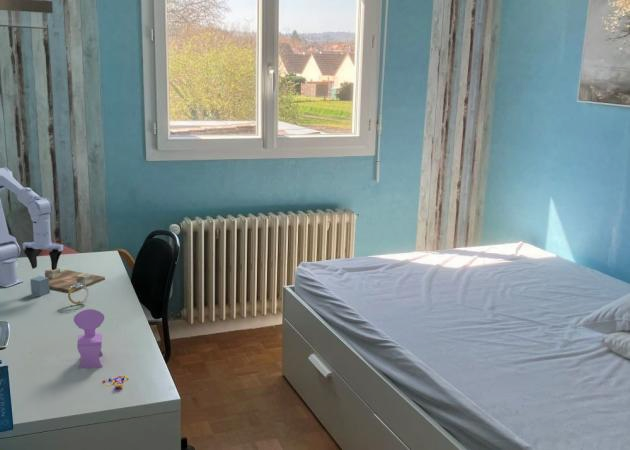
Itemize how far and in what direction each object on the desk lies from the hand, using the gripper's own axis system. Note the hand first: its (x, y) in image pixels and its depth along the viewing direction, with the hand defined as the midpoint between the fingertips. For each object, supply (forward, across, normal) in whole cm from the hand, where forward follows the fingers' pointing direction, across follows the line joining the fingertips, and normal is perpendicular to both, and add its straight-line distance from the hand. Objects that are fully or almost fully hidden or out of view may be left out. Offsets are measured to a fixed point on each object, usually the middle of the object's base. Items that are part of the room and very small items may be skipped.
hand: (44, 268), depth 242 cm
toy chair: (+10, +42, -51) cm, 66 cm away
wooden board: (+10, +1, +14) cm, 17 cm away
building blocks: (+10, +54, -62) cm, 82 cm away
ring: (+10, +17, -8) cm, 21 cm away
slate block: (+10, -2, 0) cm, 10 cm away
